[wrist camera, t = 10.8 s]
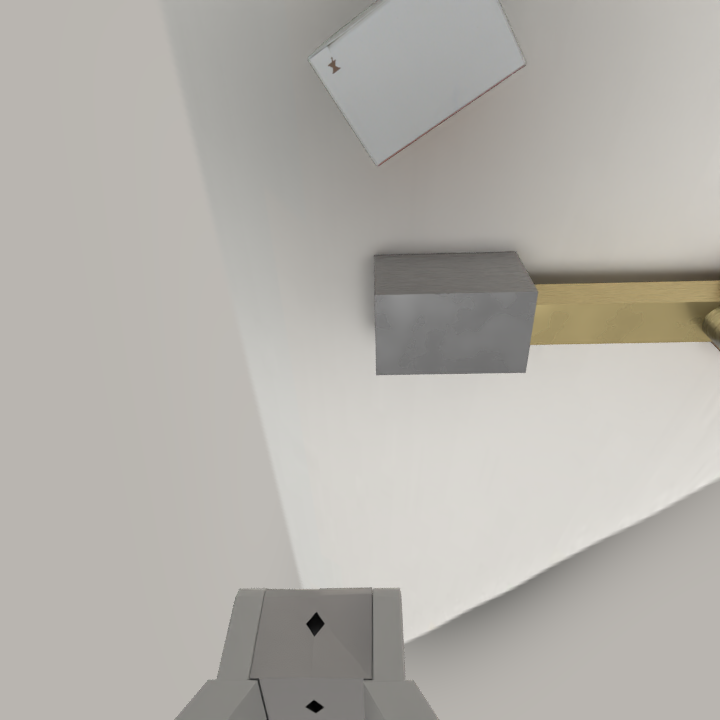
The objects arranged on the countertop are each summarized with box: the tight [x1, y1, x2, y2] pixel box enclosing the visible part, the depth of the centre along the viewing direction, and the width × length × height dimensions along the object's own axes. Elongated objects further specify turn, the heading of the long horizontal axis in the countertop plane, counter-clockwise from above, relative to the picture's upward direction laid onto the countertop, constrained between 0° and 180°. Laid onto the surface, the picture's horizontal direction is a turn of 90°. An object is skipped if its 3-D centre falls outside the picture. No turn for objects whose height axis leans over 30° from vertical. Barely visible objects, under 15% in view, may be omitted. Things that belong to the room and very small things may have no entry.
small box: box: [308, 0, 526, 166], centre depth 28 cm, size 8×6×10 cm
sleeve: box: [374, 252, 538, 375], centre depth 39 cm, size 6×10×6 cm, turn 92°
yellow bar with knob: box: [530, 281, 720, 349], centre depth 36 cm, size 3×20×8 cm, turn 92°
